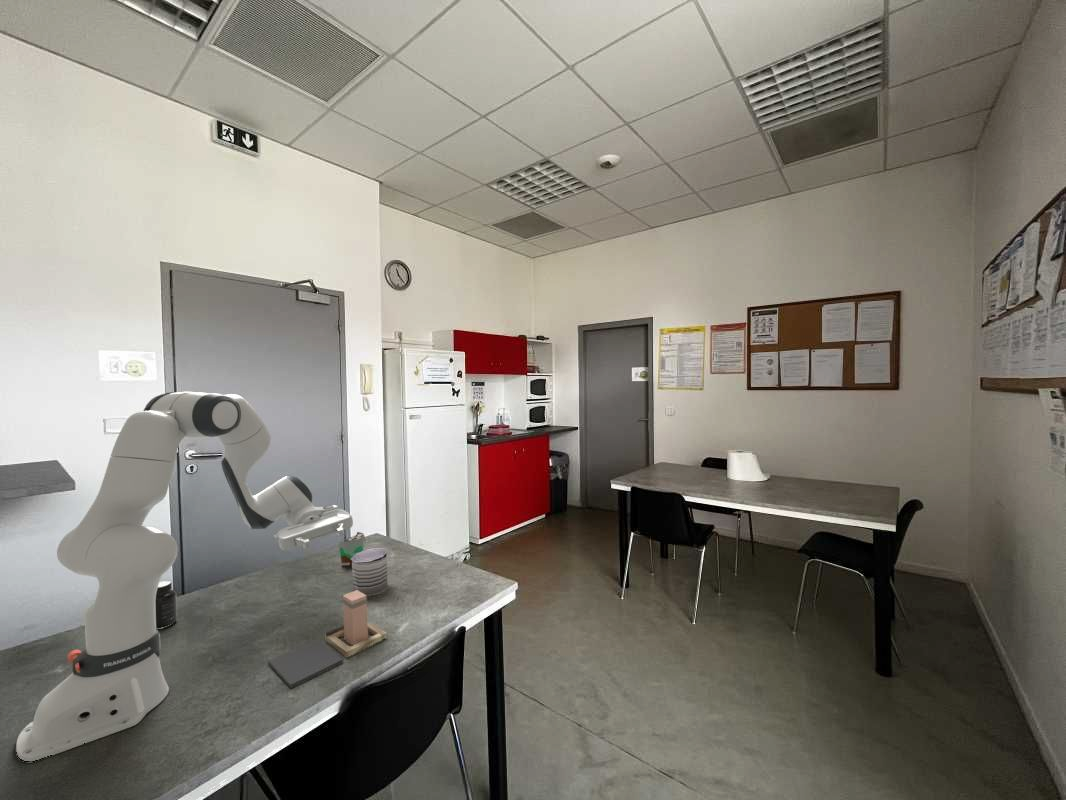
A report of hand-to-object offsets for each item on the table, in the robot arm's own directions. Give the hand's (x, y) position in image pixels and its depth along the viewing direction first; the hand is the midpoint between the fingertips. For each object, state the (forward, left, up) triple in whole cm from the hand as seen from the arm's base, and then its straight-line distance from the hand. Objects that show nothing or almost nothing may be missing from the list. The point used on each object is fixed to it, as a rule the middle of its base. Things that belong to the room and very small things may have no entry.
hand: (325, 538), depth 127 cm
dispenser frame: (+1, -14, -24) cm, 28 cm away
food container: (+27, +36, -25) cm, 51 cm away
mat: (-12, -14, -24) cm, 31 cm away
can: (+19, +11, -25) cm, 33 cm away
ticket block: (+1, -14, -24) cm, 28 cm away
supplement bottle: (-31, +37, -25) cm, 54 cm away
